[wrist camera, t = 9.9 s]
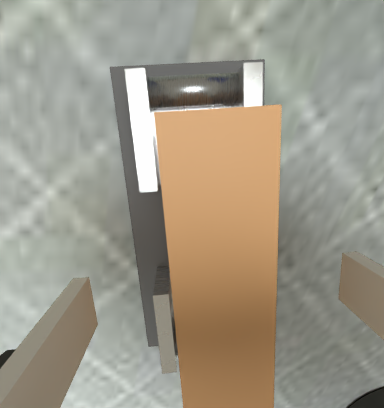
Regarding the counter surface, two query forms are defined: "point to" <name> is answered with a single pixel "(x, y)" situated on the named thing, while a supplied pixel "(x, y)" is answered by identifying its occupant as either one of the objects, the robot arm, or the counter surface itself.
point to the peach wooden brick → (222, 249)
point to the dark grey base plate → (152, 201)
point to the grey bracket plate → (148, 154)
